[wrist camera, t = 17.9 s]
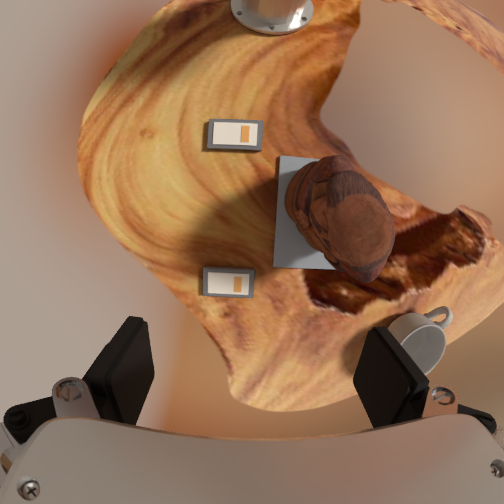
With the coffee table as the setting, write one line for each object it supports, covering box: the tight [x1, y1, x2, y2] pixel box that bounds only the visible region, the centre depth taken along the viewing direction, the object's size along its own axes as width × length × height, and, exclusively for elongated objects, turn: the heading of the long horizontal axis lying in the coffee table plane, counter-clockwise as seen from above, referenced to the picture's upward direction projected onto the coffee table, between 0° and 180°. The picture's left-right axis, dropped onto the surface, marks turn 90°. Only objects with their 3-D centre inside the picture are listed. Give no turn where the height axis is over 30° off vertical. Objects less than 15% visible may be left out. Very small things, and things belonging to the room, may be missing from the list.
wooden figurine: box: [284, 155, 395, 283], centre depth 27 cm, size 12×6×18 cm, turn 33°
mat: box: [273, 156, 335, 269], centre depth 36 cm, size 15×10×1 cm, turn 177°
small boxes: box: [203, 119, 263, 298], centre depth 36 cm, size 24×7×1 cm, turn 177°
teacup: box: [387, 306, 453, 375], centre depth 38 cm, size 14×11×8 cm
